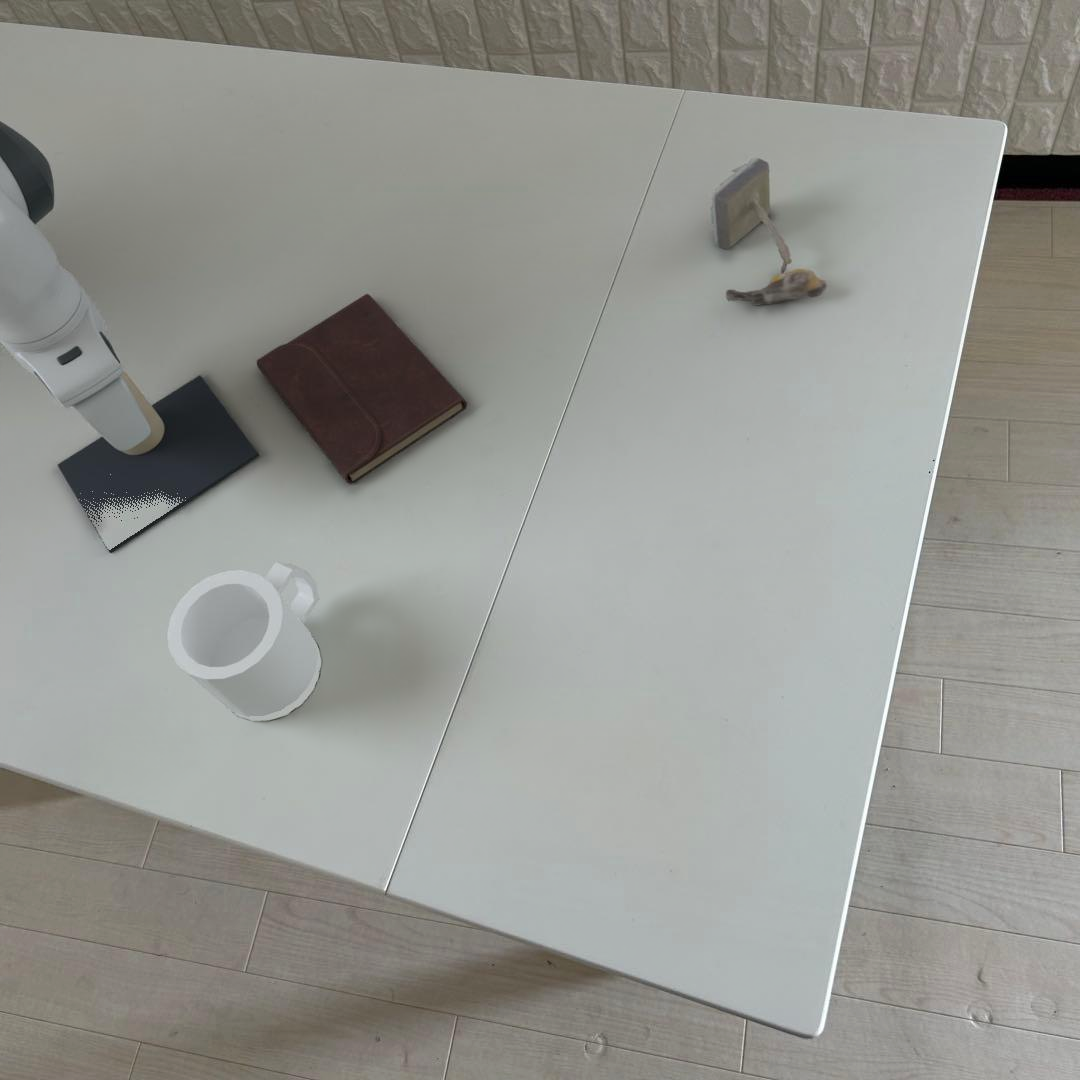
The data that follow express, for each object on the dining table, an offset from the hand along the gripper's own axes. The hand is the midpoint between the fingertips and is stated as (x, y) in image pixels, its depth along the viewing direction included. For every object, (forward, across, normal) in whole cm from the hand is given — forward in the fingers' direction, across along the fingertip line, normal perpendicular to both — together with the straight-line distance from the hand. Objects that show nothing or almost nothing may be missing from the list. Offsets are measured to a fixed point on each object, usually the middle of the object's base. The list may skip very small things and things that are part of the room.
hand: (122, 413), depth 110 cm
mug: (+5, +33, -1) cm, 33 cm away
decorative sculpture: (+5, +27, +64) cm, 70 cm away
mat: (+5, +4, 0) cm, 6 cm away
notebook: (+5, +11, +22) cm, 25 cm away
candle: (+4, 0, 0) cm, 4 cm away
